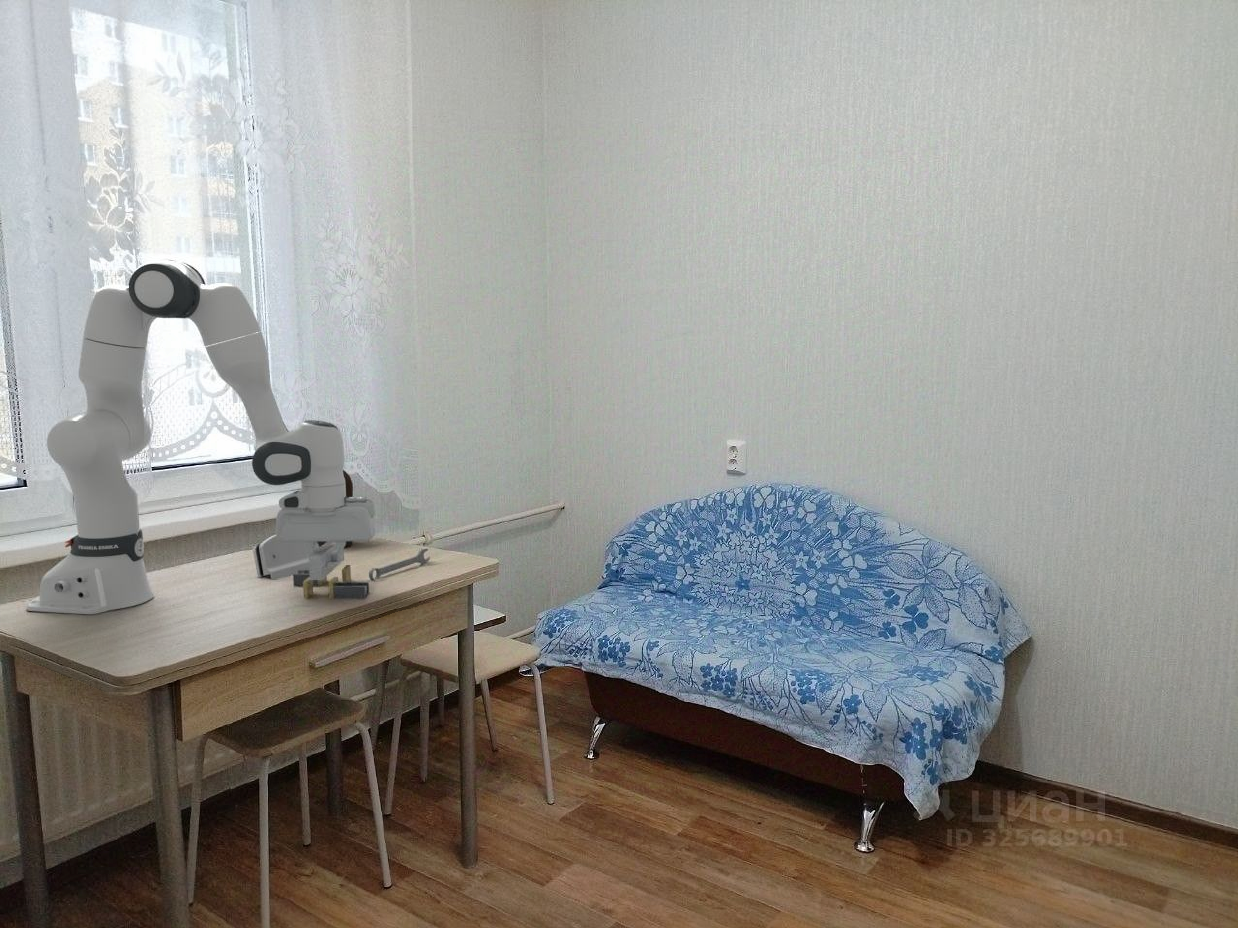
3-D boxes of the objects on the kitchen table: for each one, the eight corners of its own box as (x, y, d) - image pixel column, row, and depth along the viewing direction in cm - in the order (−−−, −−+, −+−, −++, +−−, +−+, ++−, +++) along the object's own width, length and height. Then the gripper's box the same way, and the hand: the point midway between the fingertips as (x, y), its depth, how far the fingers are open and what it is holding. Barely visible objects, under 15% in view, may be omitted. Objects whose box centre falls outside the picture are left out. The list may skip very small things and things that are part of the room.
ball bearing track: (278, 598, 194) (277, 582, 194) (299, 580, 208) (298, 565, 208) (364, 598, 195) (364, 581, 194) (380, 580, 208) (379, 564, 208)
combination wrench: (371, 567, 207) (432, 547, 224) (367, 567, 208) (428, 546, 225) (372, 584, 208) (432, 562, 225) (368, 583, 208) (428, 561, 226)
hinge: (272, 580, 208) (259, 536, 209) (258, 584, 211) (246, 541, 211) (329, 563, 223) (317, 523, 223) (316, 568, 225) (304, 527, 226)
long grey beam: (309, 579, 192) (308, 556, 191) (332, 559, 209) (331, 537, 208) (322, 579, 192) (321, 555, 191) (344, 559, 209) (343, 537, 208)
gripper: (377, 494, 202) (380, 557, 204) (281, 495, 201) (284, 558, 203) (370, 499, 195) (373, 564, 197) (270, 500, 195) (274, 565, 197)
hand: (327, 561), depth 200 cm, fingers closed on long grey beam, 2 cm apart
